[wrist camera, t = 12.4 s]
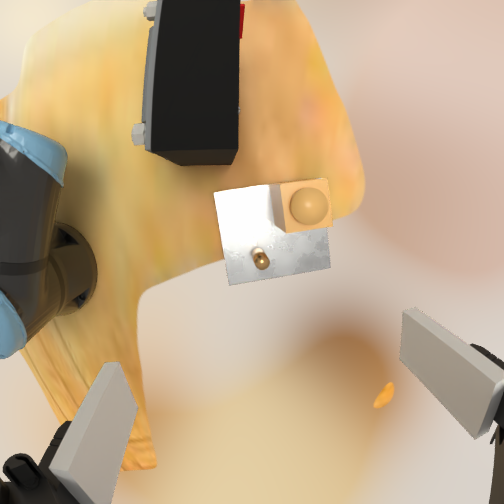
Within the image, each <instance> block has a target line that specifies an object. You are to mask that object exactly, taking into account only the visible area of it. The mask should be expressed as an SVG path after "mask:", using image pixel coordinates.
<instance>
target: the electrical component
mask: <svg viewBox="0 0 504 504" xmlns="http://www.w3.org/2000/svg"><path fill="white" fill-rule="evenodd" d="M244 9H245V4H240V0H157V1H152V2H148V4H147V7H145V8H144V10H143V14H144V17H147V20H149V21H154V26H152V27H151V28H150V30H149V38H148V46H147V56H146V66H145V77H144V90H143V106H142V123H141V124H134V126H133V129H132V141H133V143H134V145H144V144H145V150H147V151H149V152H151V153H153V154H157V155H159V156H161V157H163V158H165V159H166V160H170V161H172V162H173V163H175V164H178V165H180V166H190V165H231V164H232V162H233V160H234V158H235V155H236V153H237V151H238V125H239V113H240V107H239V44H240V39H242V32H243V20H244Z"/></svg>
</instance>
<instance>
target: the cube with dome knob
mask: <svg viewBox="0 0 504 504" xmlns="http://www.w3.org/2000/svg"><path fill="white" fill-rule="evenodd" d="M269 188H270V195H271V202H272V209H273V216H274V224H275V225H276V226H277V227H278V228H280V229H281V230H282V231H283V232H285V233H286V234H287V233H294V232H300V231H306V230H313V229H319V228H326V227H332V226H333V223H332V213H331V204H330V195H329V187H328V179H327V178H323V179H306V180H298V181H290V182H282V183H274V184H269Z"/></svg>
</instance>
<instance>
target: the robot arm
mask: <svg viewBox="0 0 504 504" xmlns="http://www.w3.org/2000/svg"><path fill="white" fill-rule="evenodd" d="M66 164H67V152H66V150H65V148H64V147H63V146H62V145H61V144H60V143H58V142H56V141H54V140H52V139H50V138H48V137H46V136H43V135H41V134H39V133H36V132H33V131H31V130H28V129H25V128H22V127H19V126H14V125H13V124H9V123H7V122H4V121H1V120H0V359H5V358H8V357H10V356H11V355H13V354H14V353H15V352H16V351H18V350H20V349H22V348H24V347H25V345H26V343H27V342H28V341H29V340H30V339H31V338H32V337H33V336H34V335H35V334H36V333H37V332H39V331H40V330H41V329H42V328H43V327H44V326H45V325H46V324H47V323H48V322H49V321H50V320H51V319H52V318H53V317H55V316H60V315H66V314H70V313H73V312H75V311H77V310H79V309H80V308H81V307H82V306H83V305H84V304H85V303H86V302H87V301H88V300H89V299H90V298H91V296H92V294H93V292H94V290H95V286H96V282H97V266H96V261H95V257H94V254H93V252H92V249H91V247H90V246H89V244H88V242H87V241H86V240H85V238H84V237H83V236H82V235H81V234H80V233H79V232H78V231H77V230H75V229H74V228H72V227H70V226H68V225H66V224H62V223H54V221H55V216H56V211H57V206H58V201H59V196H60V191H61V188H63V186H64V182H63V178H64V173H65V169H66ZM399 359H400V360H401V361H402V362H403V363H404V365H405V366H406V367H408V369H409V370H410V371H411V372H412V373H413V374H414V375H415V376H416V377H417V378H418V379H419V380H420V381H421V382H422V383H423V384H424V385H425V386H426V388H427V389H428V390H429V391H430V392H431V393H432V394H433V395H434V396H435V397H436V398H437V399H438V400H439V401H440V402H441V404H442V405H443V406H444V407H445V408H446V409H447V410H448V411H449V412H450V413H451V414H452V415H453V416H454V418H455V419H456V420H457V421H458V422H459V423H460V424H461V425H462V426H463V427H464V428H465V429H466V431H467V432H468V433H469V434H470V435H471V436H472V437H473V438H474V439H477V438H478V437H480V436H482V435H483V434H485V433H486V432H488V431H489V429H490V427H491V425H492V422H493V420H494V421H495V422H496V423H497V424H498V426H497V428H496V430H495V433H494V434H493V437H492V439H491V441H490V444H492V443H493V441H494V439H495V457H494V468H493V478H492V486H491V494H490V500H489V504H504V362H503V361H502V360H500V359H499V358H498V359H497V357H496V356H495V355H493V354H491V353H490V352H489V351H488V350H486V349H485V348H483V347H481V346H478V345H475V344H470V345H469V344H467V343H466V342H464V341H463V340H462V339H460V338H459V337H458V336H456V335H454V334H453V333H452V332H450V331H449V330H448V329H446V328H445V327H444V326H442V325H441V324H439V323H438V322H436V321H435V320H434V319H432V318H431V317H429V316H428V315H426V314H425V313H423V312H422V311H420V310H419V309H417V308H416V307H415V308H411V309H407V310H404V311H403V315H402V333H401V347H400V358H399ZM137 410H138V406H137V404H136V402H135V399H134V397H133V395H132V392H131V390H130V387H129V385H128V383H127V380H126V378H125V375H124V372H123V370H122V367H121V365H120V362H106V363H104V365H103V366H102V368H101V370H100V372H99V373H98V375H97V377H96V379H95V380H94V382H93V384H92V386H91V388H90V389H89V391H88V393H87V395H86V397H85V398H84V400H83V402H82V404H81V406H80V408H79V409H78V411H77V413H76V415H75V417H74V419H73V421H66V422H65V423H63V424H62V425H61V426H60V427H59V428H58V430H57V431H56V433H55V435H54V437H53V438H54V439H52V441H51V443H50V446H48V448H47V450H46V452H45V454H44V456H43V457H42V459H41V462H40V463H39V465H38V466H37V464H36V463H35V462H34V460H33V459H32V458H31V457H30V456H29V455H27V454H22V453H19V454H15V455H13V456H11V457H10V458H9V459H8V460H7V461H6V462H5V464H4V466H3V473H4V474H5V475H6V476H7V477H8V479H9V480H10V481H11V482H3V481H2V479H1V478H0V504H111V501H112V497H113V493H114V490H115V486H116V482H117V478H118V474H119V471H120V467H121V464H122V460H123V457H124V453H125V450H126V446H127V443H128V440H129V436H130V433H131V430H132V426H133V423H134V420H135V417H136V413H137Z"/></svg>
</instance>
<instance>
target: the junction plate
mask: <svg viewBox="0 0 504 504" xmlns="http://www.w3.org/2000/svg"><path fill="white" fill-rule="evenodd" d="M316 179H321V178H316ZM214 197H215V204H216V210H217V216H218V222H219V229H220V235H221V241H222V247H223V253H224V259H225V265H226V270H227V276H228V282H229V285H235V284H241V283H247V282H253V281H259V280H265V279H271V278H277V277H283V276H288V275H294V274H299V273H305V272H311V271H316V270H322V269H327V268H330V255H329V243H328V233H327V227H326V228H319V229H313V230H306V231H300V232H294V233H287V234H286V233H285V232H283V231H282V230H281V229H280V228H278V227H277V226H276V225H275V224H274V216H273V209H272V202H271V195H270V188H269V184H268V185H261V186H254V187H247V188H240V189H234V190H227V191H221V192H215V193H214ZM256 248H261V249H262V250H263V251H264V252H265V254H266V255H267V257H268V258H269V260H270V265H269V267H268V268H267V269H265V270H259V269H258V268H257V267H256V266H255V263H254V261H253V259H252V256H251V254H252V251H253V250H254V249H256Z"/></svg>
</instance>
